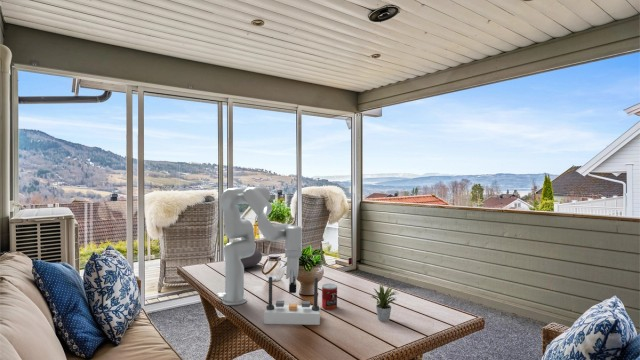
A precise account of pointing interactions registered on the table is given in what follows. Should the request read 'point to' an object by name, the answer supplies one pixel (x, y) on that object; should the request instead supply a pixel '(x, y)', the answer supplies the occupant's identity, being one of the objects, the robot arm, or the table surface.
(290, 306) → the middle button
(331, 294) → the canned food
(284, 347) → the table surface
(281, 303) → the left button
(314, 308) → the right cord
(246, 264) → the flattened ellipsoid
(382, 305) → the house plant
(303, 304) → the right button
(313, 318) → the strip
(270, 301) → the left cord
